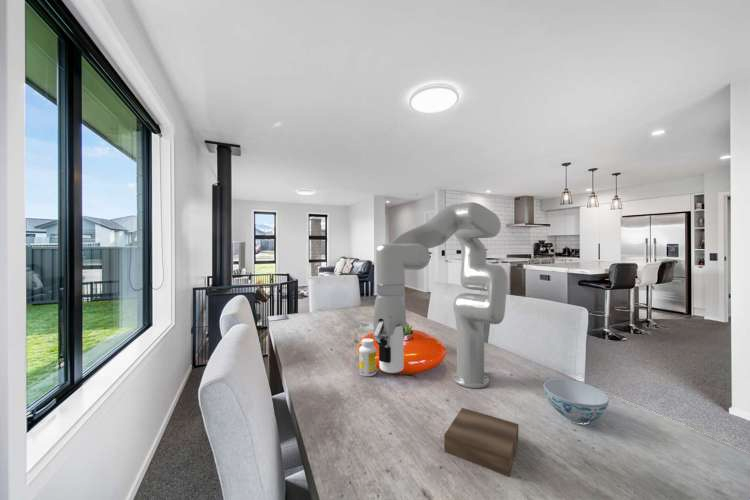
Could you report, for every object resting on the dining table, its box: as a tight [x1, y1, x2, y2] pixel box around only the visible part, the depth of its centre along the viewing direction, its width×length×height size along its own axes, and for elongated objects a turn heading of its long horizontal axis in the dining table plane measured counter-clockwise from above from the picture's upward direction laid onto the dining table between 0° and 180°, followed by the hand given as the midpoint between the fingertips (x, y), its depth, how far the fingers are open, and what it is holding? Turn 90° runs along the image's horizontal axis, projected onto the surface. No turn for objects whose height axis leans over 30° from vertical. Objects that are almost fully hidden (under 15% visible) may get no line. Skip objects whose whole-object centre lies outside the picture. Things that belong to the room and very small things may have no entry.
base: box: [443, 407, 519, 478], centre depth 70 cm, size 14×14×4 cm
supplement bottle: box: [358, 338, 378, 377], centre depth 112 cm, size 7×7×13 cm
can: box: [379, 324, 405, 374], centre depth 77 cm, size 6×6×12 cm
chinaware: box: [543, 378, 610, 424], centre depth 81 cm, size 15×15×8 cm
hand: (391, 356), depth 77 cm, fingers closed on can, 6 cm apart
